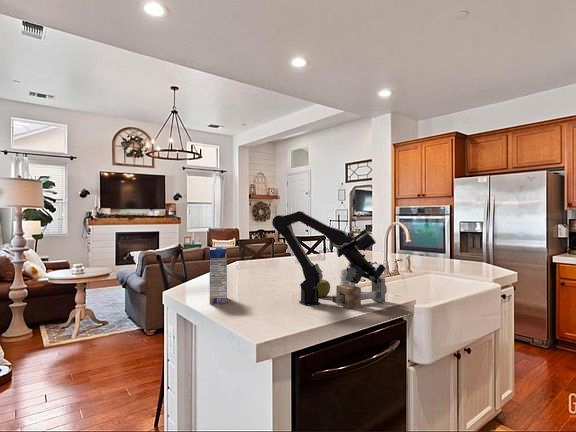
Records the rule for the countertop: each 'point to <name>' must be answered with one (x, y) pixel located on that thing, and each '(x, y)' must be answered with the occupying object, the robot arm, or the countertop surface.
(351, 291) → the block
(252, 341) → the countertop surface
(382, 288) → the hook rod
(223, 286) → the beverage box
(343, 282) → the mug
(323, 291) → the apple
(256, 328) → the countertop surface
